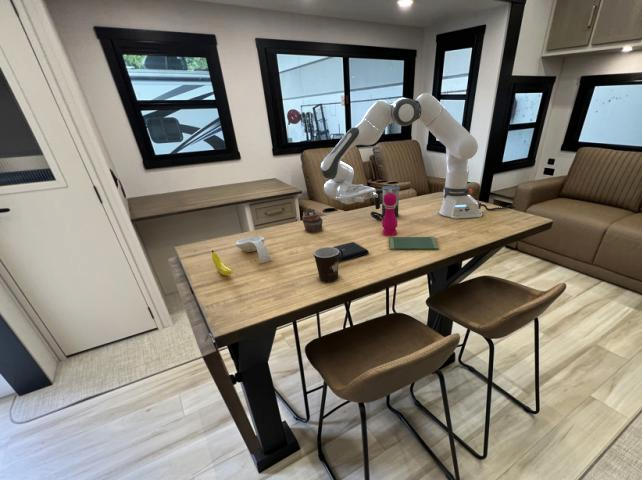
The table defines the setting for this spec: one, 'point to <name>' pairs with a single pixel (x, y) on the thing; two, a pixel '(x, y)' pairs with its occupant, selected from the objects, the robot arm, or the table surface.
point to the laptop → (351, 251)
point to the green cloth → (413, 243)
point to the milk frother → (377, 203)
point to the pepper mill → (389, 214)
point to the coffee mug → (327, 263)
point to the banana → (220, 265)
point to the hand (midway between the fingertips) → (370, 198)
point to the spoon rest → (255, 247)
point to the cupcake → (312, 221)
